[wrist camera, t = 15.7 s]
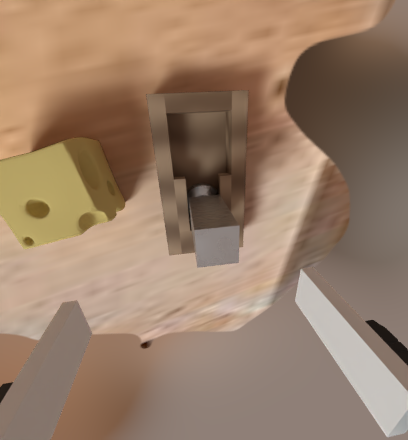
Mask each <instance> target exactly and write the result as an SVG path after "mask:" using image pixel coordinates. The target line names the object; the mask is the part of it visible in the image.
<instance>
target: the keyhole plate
mask: <svg viewBox="0 0 408 440" xmlns="http://www.w3.org/2000/svg"><path fill="white" fill-rule="evenodd" d="M146 97H147V104H148V111H149V118H150V124H151V131H152V138H153V145H154V152H155V159H156V166H157V173H158V180H159V187H160V194H161V201H162V207H163V214H164V221H165V228H166V235H167V242H168V249H169V255H177V254H185V253H194V252H195V249H194V242H193V235H192V229H191V219H190V218H189V213H188V202H187V190H188V189H189V188H190V187H191V186H193V185H195V184H199V183H206V184H209V185H211V186H213V187H214V188H215V189H216V190H217V191H218V194H219V195H220V196H221V197H222V199H223V200H224V202H225V204H226V205H227V207H228V208H229V210H230V211H231V213H232V214H233V216H234V218H235V219H236V221H237V222H238V224H239V225H240V228H239V247H243V228H244V200H245V172H246V144H247V116H248V90H242V91H216V92H191V93H166V94H146Z"/></svg>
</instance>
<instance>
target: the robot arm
mask: <svg viewBox="0 0 408 440" xmlns="http://www.w3.org/2000/svg"><path fill="white" fill-rule="evenodd" d="M295 302H296V303H297V305H298V306H299V308H300V309H301V311H302V312H303V314H304V315H305V316H306V318H307V319H308V321H309V322H310V324H311V325H312V327H313V328H314V330H315V331H316V333H317V334H318V336H319V337H320V339H321V340H322V342H323V343H324V345H325V346H326V348H327V349H328V350H329V352H330V353H331V355H332V356H333V358H334V359H335V361H336V362H337V364H338V365H339V367H340V368H341V370H342V371H343V373H344V374H345V376H346V377H347V379H348V380H349V382H350V383H351V384H352V386H353V387H354V389H355V390H356V392H357V393H358V395H359V396H360V398H361V399H362V401H363V402H364V404H365V405H366V407H367V408H368V409H369V411H370V412H371V414H372V416H373V417H374V418H375V420H376V421H377V423H378V424H379V426H380V427H381V429H382V430H383V432H384V433H385V435H386V436H387V437H390V436H395V435H399V434H403V433H406V432H407V430H408V350H407V348H406V347H405V346H404V345H403V344H402V343H401V342H398V339H397V338H395V337H394V336H393V335H392V334H391V333H390V332H389V331H388V330H387V329H386V328H385V327H383V326H381V325H380V324H378V323H377V322H375V321H374V320H369V321H364V320H363V319H362V318H361V317H360V316H359V315H358V314H357V313H356V311H355V310H354V309H353V308H352V307H351V306H350V305H349V304H348V303H347V302H346V301H345V300H344V299H343V298H342V297H341V296H340V295H339V294H338V293H337V292H336V291H335V290H334V289H333V288H332V286H330V284H329V283H328V282H327V281H326V280H325V279H324V278H323V277H322V276H321V275H320V274H319V273H318V272H317V271H316V270H315V269H314V268H313V267H309V268H302V269H301V271H300V277H299V283H298V288H297V294H296V300H295ZM91 335H92V332H91V329H90V327H89V325H88V323H87V321H86V319H85V316H84V314H83V312H82V310H81V308H80V305H79V303H78V301H71V302H64V303H62V305H61V306H60V308H59V310H58V311H57V313H56V314H55V316H54V318H53V319H52V321H51V322H50V324H49V326H48V327H47V329H46V331H45V332H44V334H43V335H42V337H41V339H40V340H39V342H38V343H37V345H36V347H35V348H34V350H33V352H32V353H31V355H30V356H29V358H28V360H27V361H26V363H25V364H24V366H23V368H22V369H21V371H20V372H19V374H18V376H17V377H16V379H15V381H14V382H12V383H6V384H3V385H2V386H1V387H0V440H51V437H52V435H53V433H54V430H55V427H56V425H57V422H58V419H59V417H60V415H61V412H62V409H63V407H64V404H65V402H66V399H67V397H68V394H69V391H70V389H71V386H72V384H73V381H74V379H75V376H76V374H77V371H78V368H79V366H80V363H81V361H82V358H83V356H84V353H85V350H86V348H87V345H88V343H89V340H90V338H91Z"/></svg>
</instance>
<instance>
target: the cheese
mask: <svg viewBox="0 0 408 440" xmlns="http://www.w3.org/2000/svg"><path fill="white" fill-rule="evenodd" d="M124 207H125V200H124V198H123V196H122V194H121V192H120V190H119V188H118V186H117V184H116V182H115V179H114V177H113V174H112V172H111V170H110V167H109V165H108V162H107V160H106V157H105V155H104V152H103V150H102V147H101V145H100V142H99V141H98V140H94V139H90V138H85V137H77V138H71V139H67V140H64V141H61V142H58V143H55V144H53V145H50V146H47V147H45V148H42V149H39V150H36V151H33V152H30V153H26V154H22V155H18V156H14V157H10V158H6V159H2V160H0V215H1V216H2V217H3V219H4V220H5V221H6V223H7V224H8V226H9V227H10V229H11V230H12V231H13V233H14V235H15V236H16V238H17V239H18V241H19V242H20V244H21V246H22V247H23V248H24V249H28V248H32V247H36V246H40V245H44V244H48V243H52V242H55V241H59V240H63V239H67V238H71V237H75V236H78V235H81V234H83V233H84V232H85V231H86V230H87V229H89V228H90V227H92V226H94V225H96V224H100V223H104V222H108V221H111V220H113V219H114V218H115V216H116V215H117V214H116V212H117V211H121V210H122V209H123V208H124Z"/></svg>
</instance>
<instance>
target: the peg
mask: <svg viewBox="0 0 408 440" xmlns="http://www.w3.org/2000/svg"><path fill="white" fill-rule="evenodd" d="M187 202H188V213H189V218H190V219H191V229H192V235H193V242H194V249H195V255H196V262H197V268H198V267H207V266H215V265H223V264H232V263H239V228H240V225H239V224H238V222H237V221H236V219H235V218H234V216H233V214H232V213H231V211H230V210H229V208H228V207H227V205H226V204H225V202H224V200H223V199H222V197H221V196H220V195H219V194H218V191H217V190H216V189H215V188H214V187H213V186H211V185H209V184H206V183H199V184H195V185H193V186H191V187H190V188H189V189H188V190H187Z"/></svg>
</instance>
